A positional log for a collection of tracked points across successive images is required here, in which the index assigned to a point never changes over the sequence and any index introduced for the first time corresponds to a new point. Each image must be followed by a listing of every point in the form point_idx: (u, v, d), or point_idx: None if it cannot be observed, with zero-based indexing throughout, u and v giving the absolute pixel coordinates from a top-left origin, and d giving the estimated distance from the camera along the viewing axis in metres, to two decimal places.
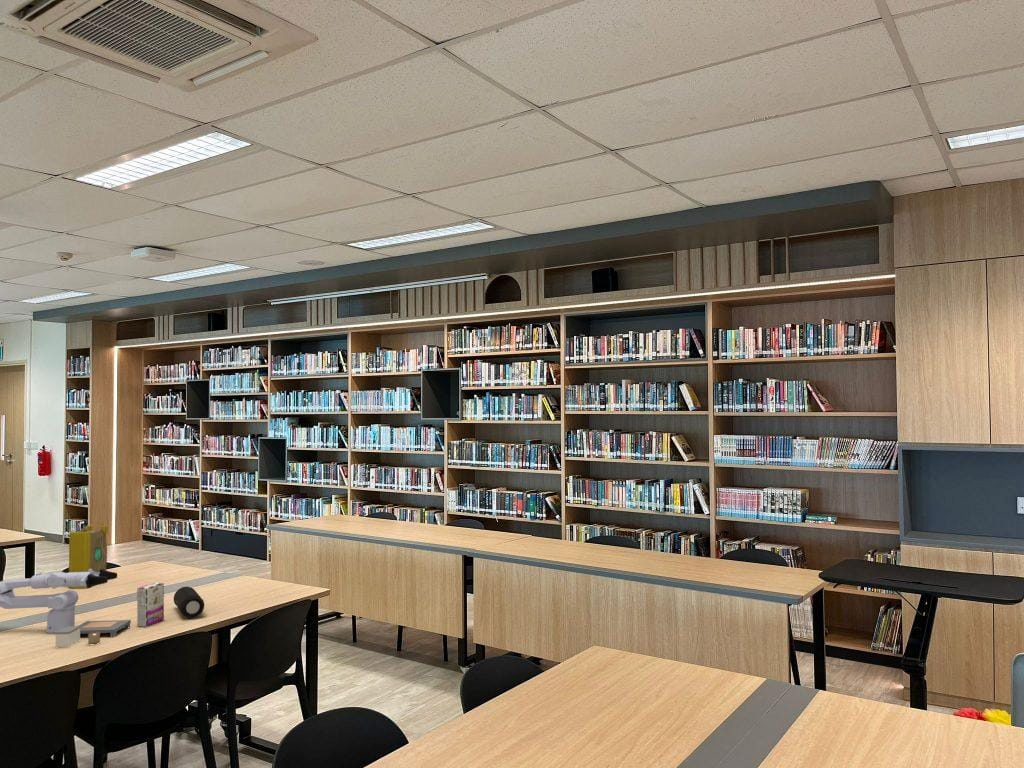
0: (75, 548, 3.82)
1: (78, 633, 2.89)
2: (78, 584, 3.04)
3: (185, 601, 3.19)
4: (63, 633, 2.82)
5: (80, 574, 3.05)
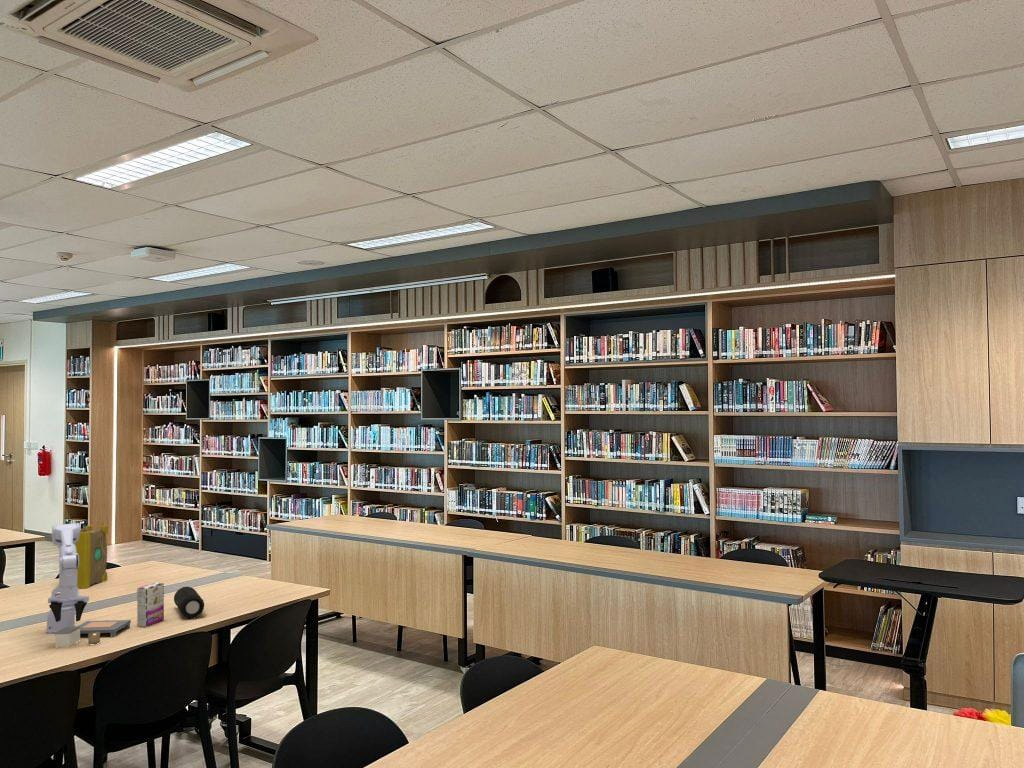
0: None
1: (78, 633, 2.89)
2: None
3: (185, 601, 3.19)
4: (63, 633, 2.82)
5: (61, 591, 2.85)
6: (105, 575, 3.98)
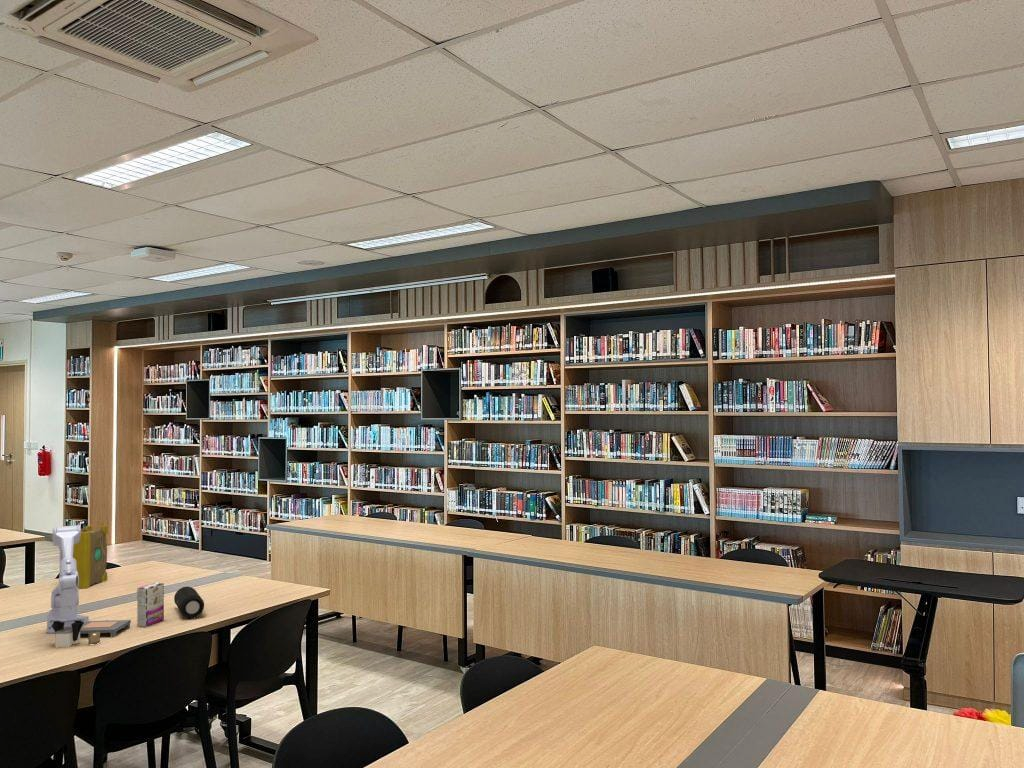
0: (75, 548, 3.82)
1: None
2: None
3: (185, 601, 3.19)
4: (63, 633, 2.82)
5: (60, 611, 2.84)
6: (105, 575, 3.98)
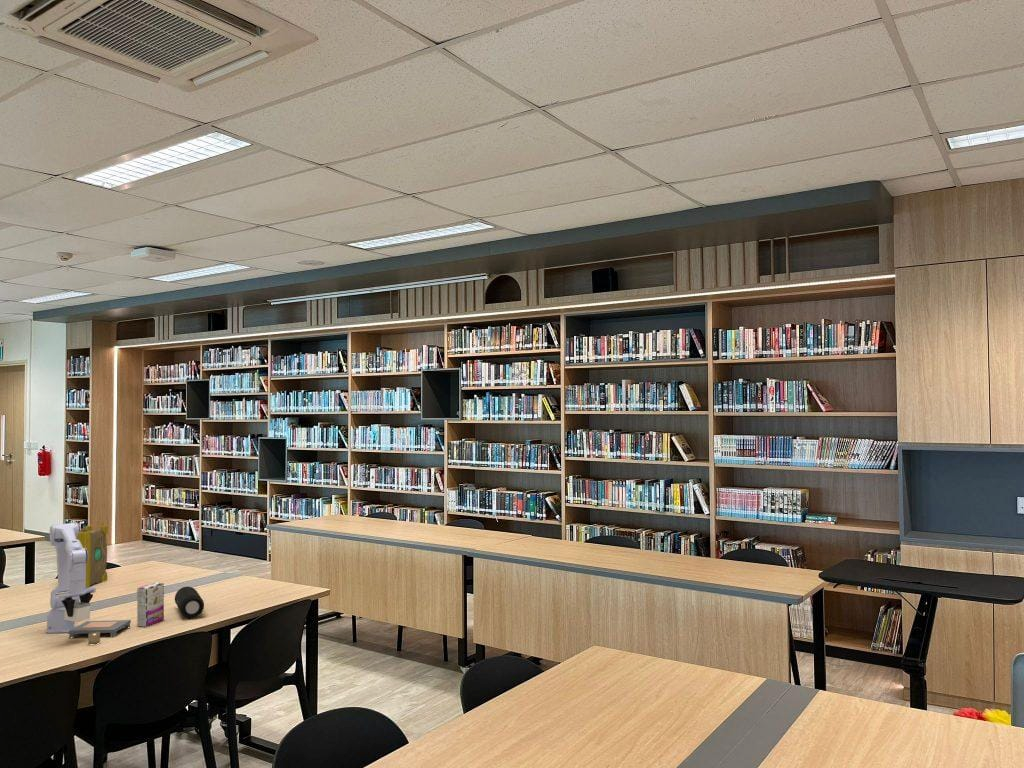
0: None
1: None
2: (69, 583, 2.90)
3: (185, 601, 3.19)
4: (85, 606, 2.89)
5: (77, 585, 2.88)
6: (105, 575, 3.98)
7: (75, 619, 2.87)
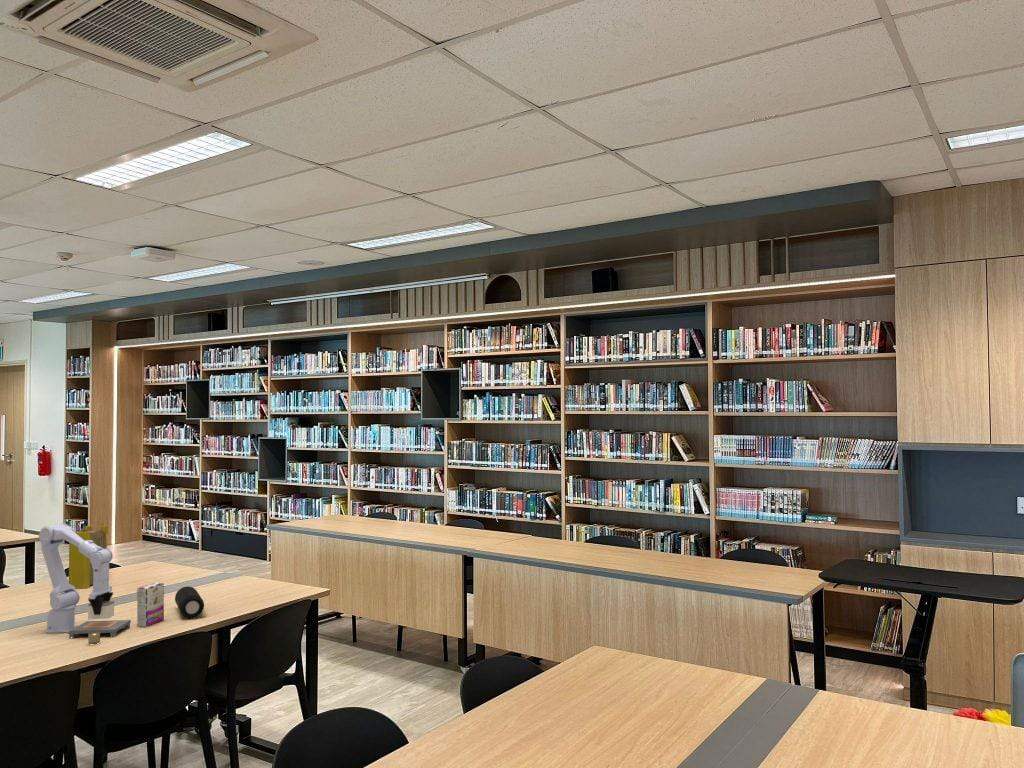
0: (75, 548, 3.82)
1: None
2: (94, 582, 3.00)
3: (185, 601, 3.19)
4: (111, 603, 3.02)
5: (104, 583, 3.01)
6: None
7: (104, 616, 2.99)
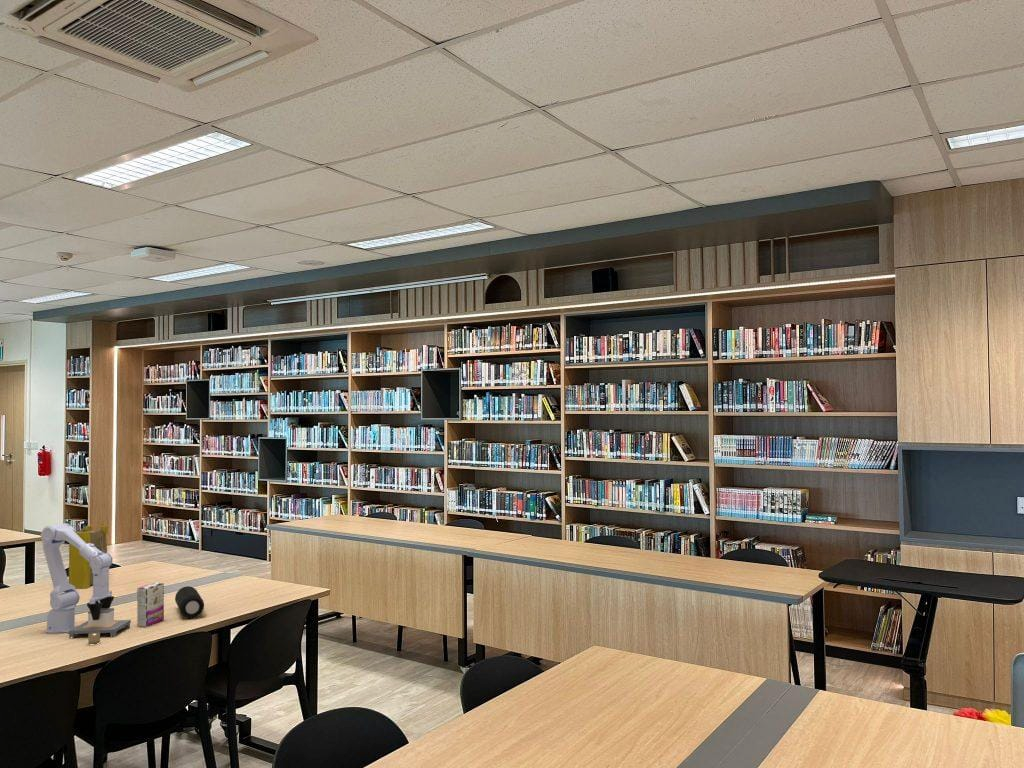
0: (75, 548, 3.82)
1: None
2: (93, 587, 3.00)
3: (184, 601, 3.19)
4: (111, 610, 3.02)
5: (104, 588, 3.00)
6: None
7: (104, 624, 2.99)
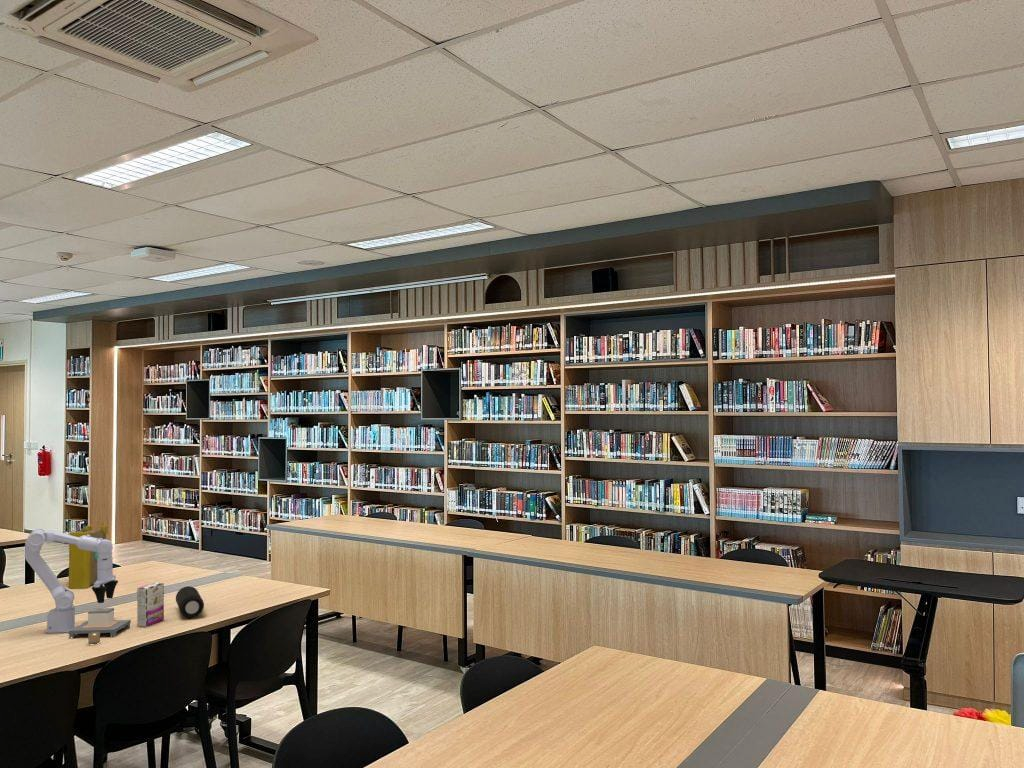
0: (75, 548, 3.82)
1: None
2: (98, 571, 3.11)
3: (184, 601, 3.19)
4: (111, 610, 3.02)
5: (108, 572, 3.11)
6: None
7: (104, 624, 2.99)
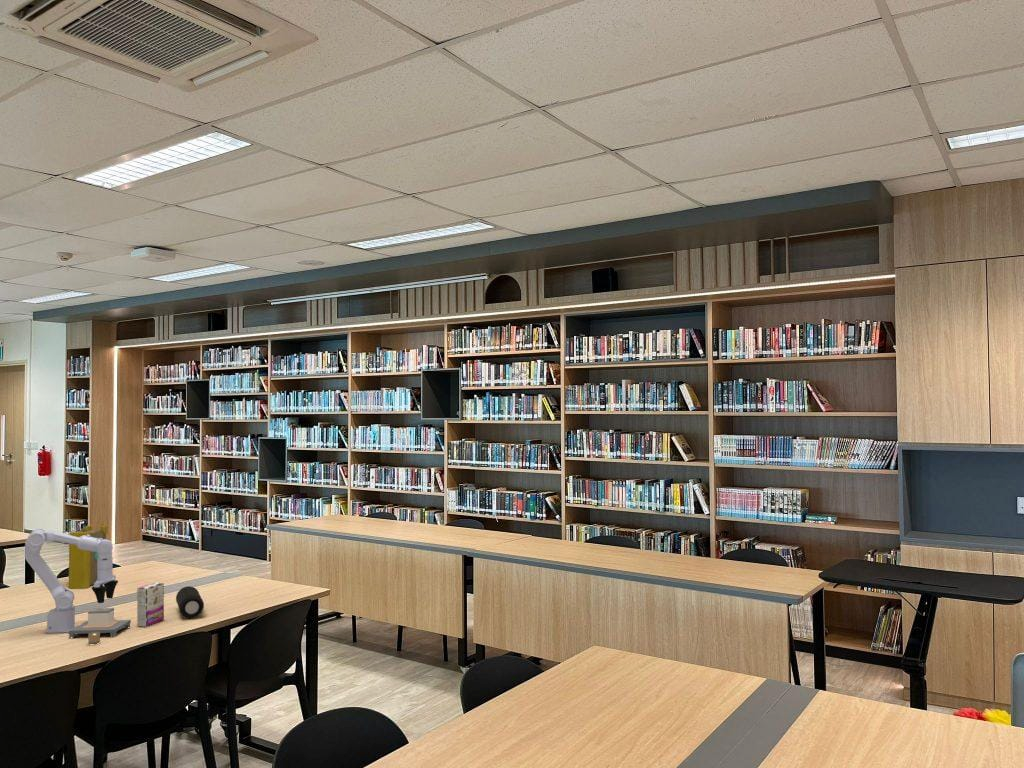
0: (75, 548, 3.82)
1: None
2: (98, 571, 3.11)
3: (184, 601, 3.19)
4: (111, 610, 3.02)
5: (108, 572, 3.11)
6: None
7: (104, 624, 2.99)
